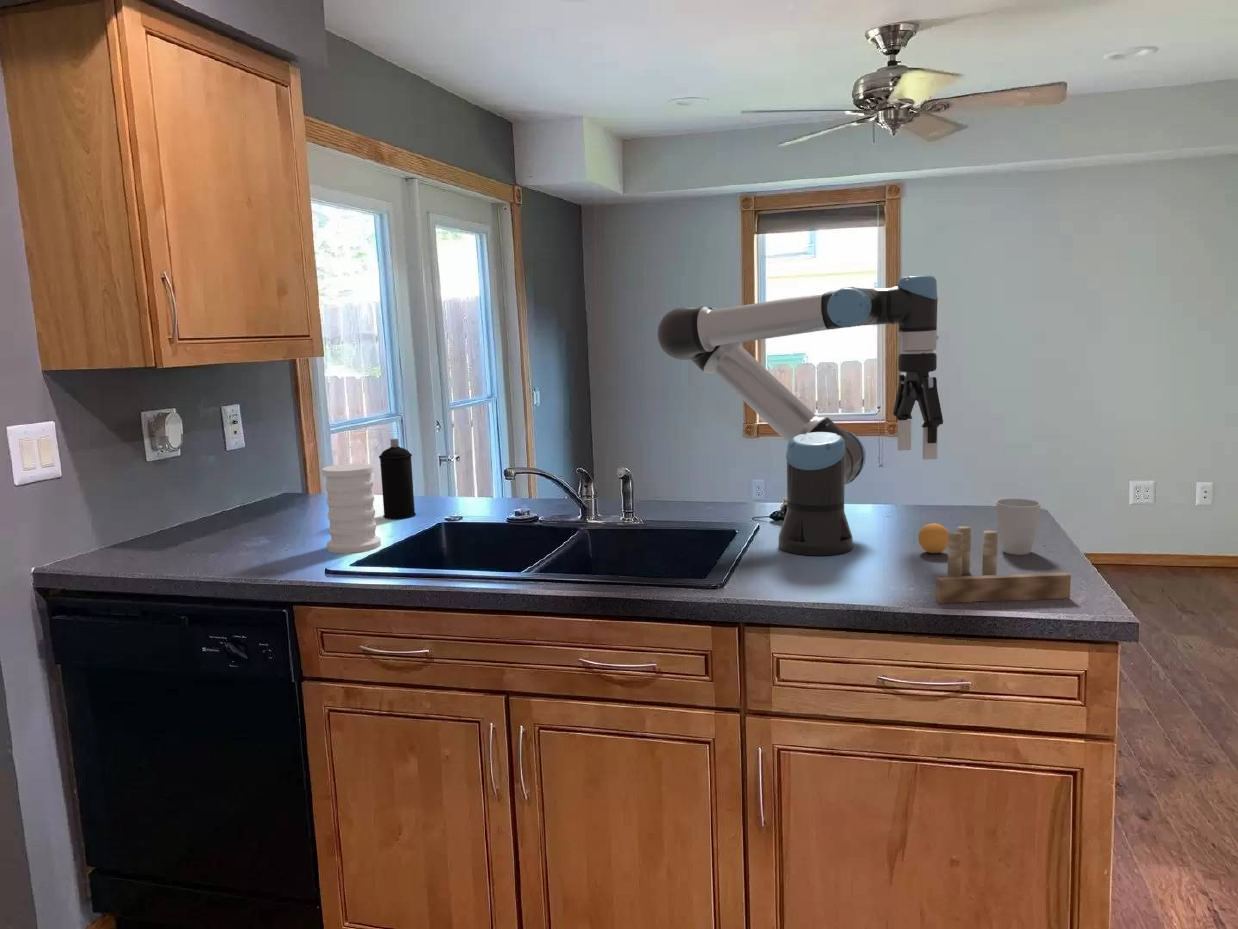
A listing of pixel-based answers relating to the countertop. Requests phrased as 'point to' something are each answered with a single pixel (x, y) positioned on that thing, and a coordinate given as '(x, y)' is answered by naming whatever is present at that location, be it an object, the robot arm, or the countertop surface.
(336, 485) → the decorative container
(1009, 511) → the cup
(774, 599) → the countertop surface
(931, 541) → the ball
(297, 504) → the countertop surface
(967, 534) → the front pin
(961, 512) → the countertop surface
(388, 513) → the aerosol can
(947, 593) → the back wall
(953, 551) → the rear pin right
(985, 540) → the rear pin left
